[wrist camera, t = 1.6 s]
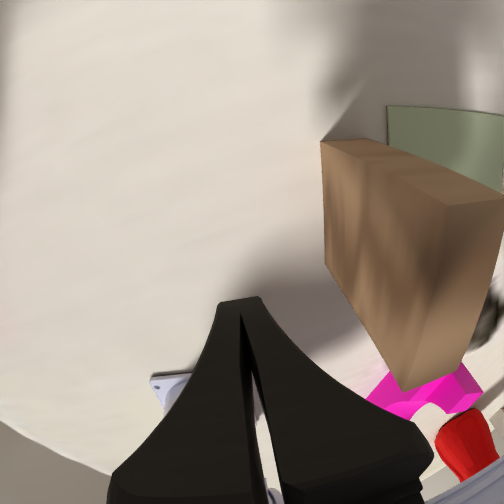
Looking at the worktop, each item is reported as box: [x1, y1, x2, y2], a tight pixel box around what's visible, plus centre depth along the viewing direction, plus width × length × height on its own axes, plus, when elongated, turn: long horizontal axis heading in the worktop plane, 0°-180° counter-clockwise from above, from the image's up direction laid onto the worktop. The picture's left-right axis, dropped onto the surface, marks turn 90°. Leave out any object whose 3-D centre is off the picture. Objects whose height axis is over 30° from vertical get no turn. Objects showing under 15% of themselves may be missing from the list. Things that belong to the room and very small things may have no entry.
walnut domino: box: [320, 138, 504, 393], centre depth 14 cm, size 8×3×11 cm, turn 7°
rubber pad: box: [387, 106, 504, 193], centre depth 19 cm, size 12×12×1 cm
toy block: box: [366, 362, 483, 421], centre depth 27 cm, size 15×6×8 cm, turn 159°
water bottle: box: [434, 409, 500, 483], centre depth 29 cm, size 9×11×25 cm
